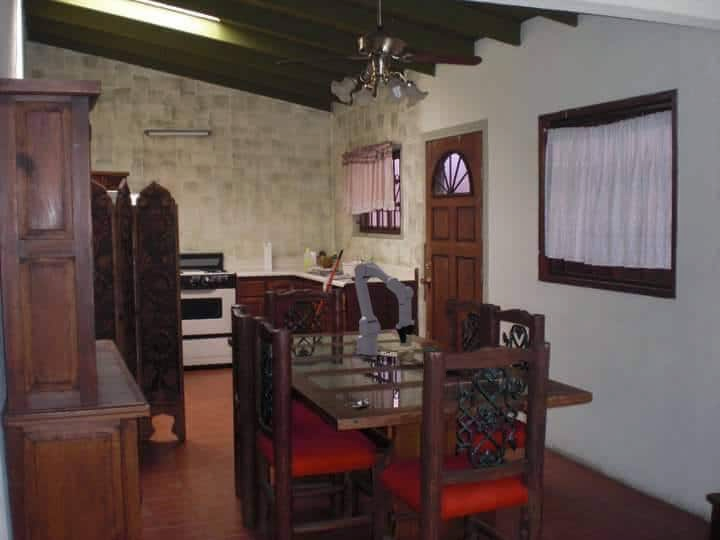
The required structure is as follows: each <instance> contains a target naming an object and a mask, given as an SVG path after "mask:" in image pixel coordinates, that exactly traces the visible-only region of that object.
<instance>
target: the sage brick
mask: <svg viewBox="0 0 720 540" xmlns="http://www.w3.org/2000/svg"><path fill="white" fill-rule="evenodd" d="M412 335H413V334H412ZM412 335H406V342H405V343H401V341H400V340H399V347H404V348H405V347H406V348H409V347H412V345H413V344H412V342H413V341H412V340H413V339H412Z"/></svg>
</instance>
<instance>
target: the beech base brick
mask: <svg viewBox="0 0 720 540" xmlns="http://www.w3.org/2000/svg"><path fill="white" fill-rule="evenodd" d="M414 359H415V350H411V349H410V350H409V349H401V350H398V351H397V357H396V360H397V361H402V362H403V361H405V362H410V361H413V360H414Z"/></svg>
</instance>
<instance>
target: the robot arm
mask: <svg viewBox="0 0 720 540" xmlns="http://www.w3.org/2000/svg"><path fill="white" fill-rule="evenodd" d="M353 271H354V286H355V288H356V289H355V290H356V295H357V299H358V304H359V308H360V314H361V318H360V319H359V321H358V323H359V327H358V330H359V333H360V335H358V337H357V340H356V346H357V347H356V348H357V349H356V350H357V351H356V355H360V354H361V355H363V356H370V357H373V356H378V355H377V354H380V353H381V352H382V351H379V349H378V346H379V345H378V344H379V343H378V336H379V333H380V332H381V327H382V326H381V324H380V322H379V320H378V318H377V316H375V315H374V312H373V307H372V302H371V296H370V294H369V288H368V282H369V280H370V279H371V278H372V277H375V278H377V279H378V280H379V281H381V282H382V283H384V284H386V288H387V289H389V290H390V291H391V292H392V293H394V294H395V296H396V299H397V300H398V302H397V303H398V323H396V324H395V330H396V333H397V334H398V337H399V342H400V341H401V343H405V342H406V335H413V332H414V330H415V327H416V326H415V324H416V323H415V321H416V320H413V319H412V298H414V294H415V292H414V289H413V287H411V286H409V285H407V286H406V284H404V283H402V281H399V279H398V278H397V277H390V276H389V275H388V274H387V273H386V272H385V271H384V270H382V269H381V268H380V267H379V265H378V264H376V263H375V262H373V261H370V262H359V263H357V264H356V265H355V267H354V268H353Z"/></svg>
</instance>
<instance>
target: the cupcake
mask: <svg viewBox="0 0 720 540" xmlns="http://www.w3.org/2000/svg"><path fill="white" fill-rule="evenodd" d="M438 346H439V344H438V342H437V341H436V340H433V339H430V332H429V331H427V339H424V340H422V341H421V342H420V343H419V347H420V348H421V349H422V352H423V351H424V350H429V351H435V352H436V349H438Z"/></svg>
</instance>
